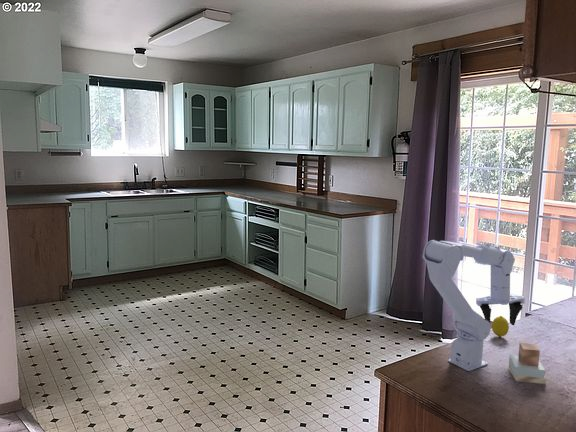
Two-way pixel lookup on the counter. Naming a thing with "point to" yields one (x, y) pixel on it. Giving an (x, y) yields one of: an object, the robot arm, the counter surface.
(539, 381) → the tower base
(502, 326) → the lemon
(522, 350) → the block
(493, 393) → the counter surface
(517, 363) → the tower top
